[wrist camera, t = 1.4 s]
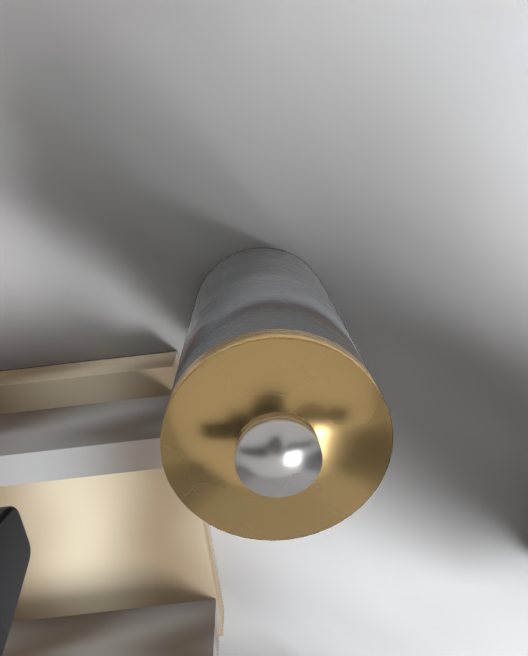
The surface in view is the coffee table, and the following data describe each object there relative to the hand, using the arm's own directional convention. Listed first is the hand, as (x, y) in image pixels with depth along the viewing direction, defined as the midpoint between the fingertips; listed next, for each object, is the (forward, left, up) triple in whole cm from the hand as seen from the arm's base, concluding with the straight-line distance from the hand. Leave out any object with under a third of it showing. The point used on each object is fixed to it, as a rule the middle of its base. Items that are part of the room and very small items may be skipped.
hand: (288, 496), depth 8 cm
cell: (0, 0, -9) cm, 9 cm away
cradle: (+10, +7, -9) cm, 15 cm away
